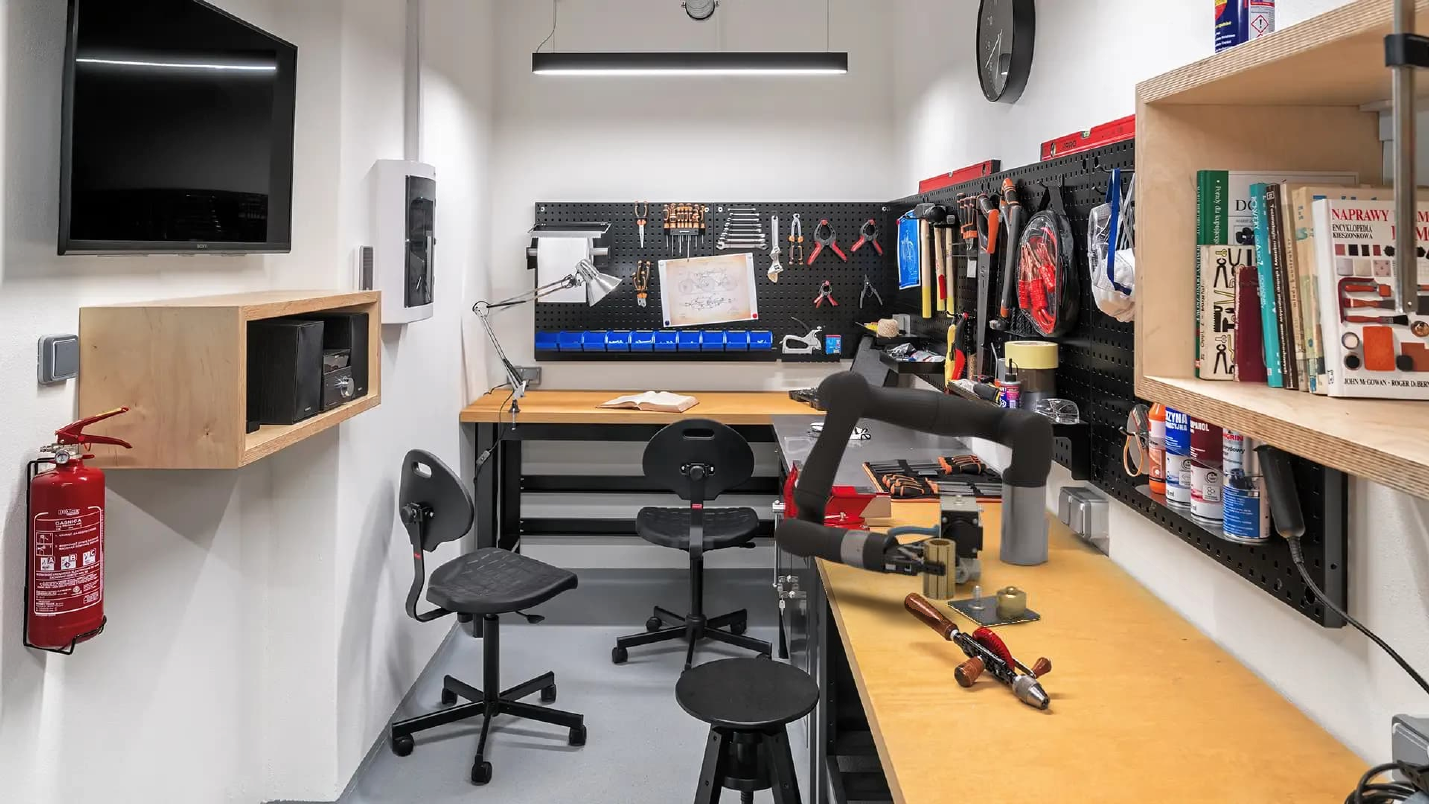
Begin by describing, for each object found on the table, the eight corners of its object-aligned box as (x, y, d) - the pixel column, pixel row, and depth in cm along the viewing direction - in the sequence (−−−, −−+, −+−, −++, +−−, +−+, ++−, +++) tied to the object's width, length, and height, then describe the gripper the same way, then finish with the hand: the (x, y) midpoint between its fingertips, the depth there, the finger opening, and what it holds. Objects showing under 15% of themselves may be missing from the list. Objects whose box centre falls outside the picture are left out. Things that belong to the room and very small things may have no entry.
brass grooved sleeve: (930, 587, 178) (931, 536, 177) (959, 593, 175) (960, 541, 173) (917, 596, 174) (918, 544, 173) (947, 602, 170) (948, 549, 169)
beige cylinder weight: (1014, 608, 176) (1015, 582, 175) (1031, 617, 171) (1032, 591, 170) (990, 611, 174) (991, 585, 173) (1007, 621, 169) (1008, 594, 168)
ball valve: (984, 594, 185) (986, 506, 183) (939, 592, 187) (941, 504, 185) (978, 567, 203) (981, 486, 201) (938, 565, 205) (940, 485, 202)
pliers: (967, 546, 219) (968, 521, 218) (971, 548, 217) (972, 523, 216) (885, 550, 216) (886, 525, 215) (888, 553, 214) (889, 528, 213)
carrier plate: (1001, 598, 183) (1002, 573, 182) (1040, 619, 172) (1041, 593, 171) (947, 605, 180) (948, 580, 179) (983, 627, 168) (984, 600, 168)
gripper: (851, 541, 176) (936, 556, 166) (886, 523, 187) (968, 536, 177) (851, 579, 177) (936, 597, 167) (886, 560, 188) (967, 575, 178)
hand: (952, 565), depth 172 cm, fingers closed on brass grooved sleeve, 5 cm apart
